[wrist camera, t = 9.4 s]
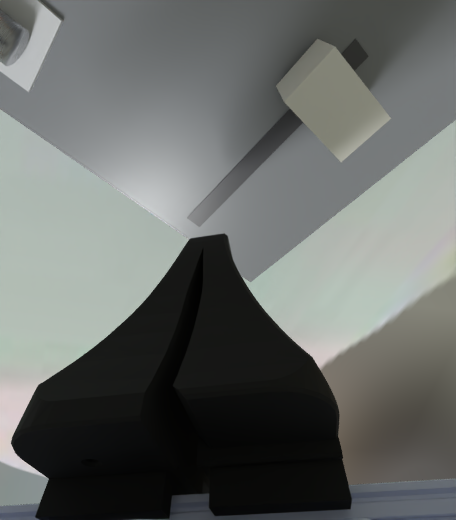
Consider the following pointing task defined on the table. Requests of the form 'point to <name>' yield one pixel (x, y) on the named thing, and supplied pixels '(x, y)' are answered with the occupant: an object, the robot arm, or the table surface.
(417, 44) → the control panel
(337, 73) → the slider knob
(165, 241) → the table surface
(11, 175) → the table surface
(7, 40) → the toggle lever
